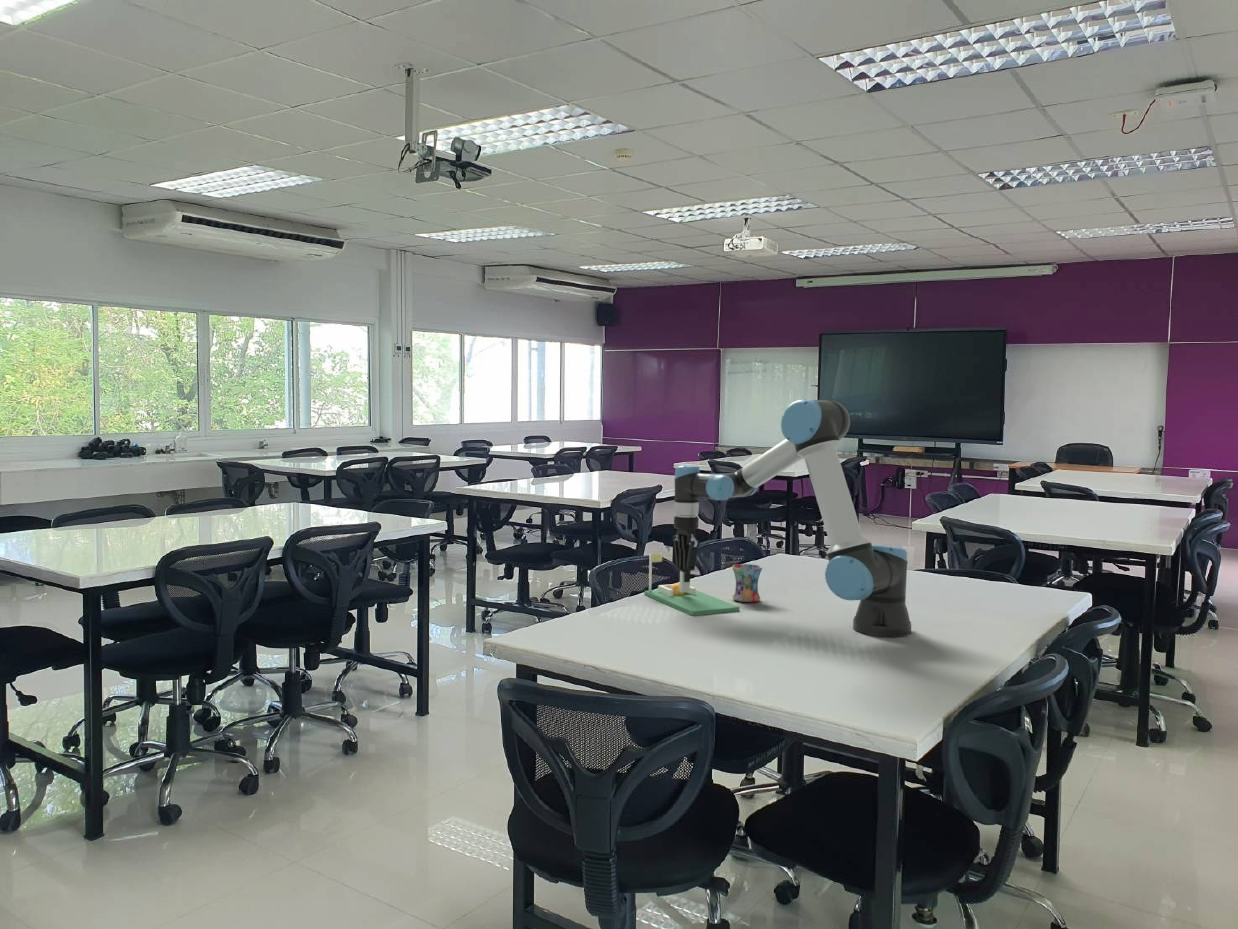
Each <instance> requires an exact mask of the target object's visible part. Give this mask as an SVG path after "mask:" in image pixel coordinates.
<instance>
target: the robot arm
mask: <svg viewBox="0 0 1238 929" xmlns="http://www.w3.org/2000/svg"><path fill="white" fill-rule="evenodd" d="M850 425H851V418H850V413H849V412H848V410H847V408H846V407H845V406H844V405H843V404H842V403H840V402H838V401H835V400H832V399H831V400H830V399H811V398H806V399H805V398H804V399H799V400H795V401H793V402H792V403H790V404H789V405H788V406H787V407H786V408H785V410H784V412H783V414H782V416H781V419H780V429H781V433H782V434H783V437H784V439H783V440H782V441H780V442H779V443H777V444H776V445H774V446H773V447H771V448H770V449H768V450H767V451H765V452H764V453H763V454H760V455H759V456H758V457H756V458H755V459H753V460H752V461H750V462H748V463H747V464H745V465H744V466H743V467H741V468H740V469H738V470H737V471H735V472H728V473H727V472H726V473H725V472H723V473H702V472H701V471H700V470H701V469H700V466H698V465H691V464H690V465H688V464H687V465H686V464H683V465H677V466H676V467H675V471H674V478H673V481H674V502H673V515H674V516H673V528H674V529H677V531H676V535H672V537H671V538H672V542H673V548H674V549H673V550H674V559H675V567H676V568H678V570H679V584H680V592H682V593H684V592H690V586H691V572H692V571H695V568H696V562H697V555H698V548H699V547H700V543H701V542H700V540H697V539H696V532H695V530H697V529H699V517H698V515H699V507H700V503H699V502H700V499H705V500H706V499H707V500H712V501H713V500H714V501H727V500H729V499H730V498H731V499H732V498H744V497H745V498H746V497H749V496H753V495H754V494H755V493H756V492H757V491H758V488H759V487H760V486H761V485H764V484H765V483H767V482H768V481H769V480H771V479H773V478H774V477H776V476H778V475H779V474H781V473H782V472H784V471H785V470H787V469H788V468H791V467H792V466H793V465H795V464H797V463H798V462H801V461H802V460H803V459H804V462H805V466H806V469H807V472H808V475H809V478H810V482H811V485H812V488H813V491H814V495H815V498H816V503H817V506H818V507H819V508H818V509H819V512H820V515H821V518H822V522H823V525H824V528H825V532H826V534H827V537H828V538H827V539H828V542H829V547H828V550H827V551H826V555H827V559H828V562H827V564H826V568H825V570H824V578H825V583H826V584H827V587H828V588H829V590H830V591H831V593H832V594H834V595H835V596H836V597H838V598H840V599H842V600H845V601H859V604H858V607H857V610H856V613H855V616H854V617H853V619H852V629H853V630H855V631H857V632H859V633H863V634H866V635H871V636H877V637H891V638H892V637H904V636H908V635H910V634H912V622H911V621H910V616H909V611H908V607H907V604H906V597H907V596H906V595H907V576H908V575H907V573H908V563H909V562H908V553H907V552H908V551H907V550H906V549H905V548H903V547H898V546H891V545H883V544H873V543H872V542H871V541H870V540H869V539H867V538H865V537H864V535H863V532H862V529H861V527H860V523H859V520H858V517H857V513H856V509H855V506H854V503H853V500H852V497H851V493H850V490H849V486H848V484H847V481H846V478H845V477H846V476H845V472H844V471H843V467H842V464H841V461H840V457H839V455H838V452H837V450H838V447H839V445H840V444H841V441H840V440H842V439H843V438H844V437H845V436H846V435H847V434H848V432H849V429H850Z"/></svg>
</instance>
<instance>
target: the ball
mask: <svg viewBox="0 0 1238 929" xmlns="http://www.w3.org/2000/svg"><path fill="white" fill-rule="evenodd" d="M672 584H673V585H672V586H671V588H670V589H672V590H673V596H685V595H684V593H682V592H680V583H677V582H676V583H672Z"/></svg>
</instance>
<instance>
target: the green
mask: <svg viewBox="0 0 1238 929" xmlns="http://www.w3.org/2000/svg"><path fill="white" fill-rule="evenodd" d="M661 562H663V553H662V552H661V553H649V564H648V570H649V571H648V590H644V596H647V597H649V598H651V599H653V600H656V601H658V602H660V603H662V604H665V605H666V606H669V607H671V608H673V609H676V610H678V611H680V612H682V613H685V614H687V615H690V616H703V615H711V614H714V615H715V614H723V612H724V613H733V612H734V613H735V612H740V609H741V608H740V606H738V605H735V604H733V603H731V602H727V601H725V600H722V599H720V598H718V597H715V596H712V595H709V594H707V593H704V592H701V591H699V590H697V588H695V587H693V586H691V585H690V592H684V595H683V596H673V590H672V589H670V588H671V586H672V585H673V584H674V583H672V584H671V583H670V584H659V585H658V586H657V589H655V590H653V589H652V577H653V576H652V575H653V574H652V572H653V570H652V569H653V563H661Z"/></svg>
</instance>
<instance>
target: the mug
mask: <svg viewBox="0 0 1238 929" xmlns="http://www.w3.org/2000/svg"><path fill="white" fill-rule="evenodd" d="M731 568H732V571H733V574H734V576H735V579H734V580H735V589H734V593H733V595H732V599H733V600H735V601H737V602H741V603H754V602H758V601H759V600H761V596H760V594H759V587H758V586H759V579H760V578H759V577H760V576H761V572H762V570H763V566H761V565H758V564H753V563H752V564H750V563H740V564H739V563H738V564H733V565H731Z"/></svg>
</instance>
